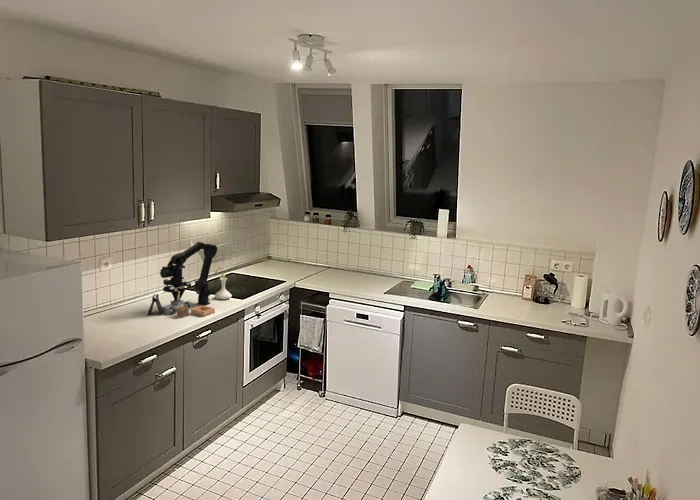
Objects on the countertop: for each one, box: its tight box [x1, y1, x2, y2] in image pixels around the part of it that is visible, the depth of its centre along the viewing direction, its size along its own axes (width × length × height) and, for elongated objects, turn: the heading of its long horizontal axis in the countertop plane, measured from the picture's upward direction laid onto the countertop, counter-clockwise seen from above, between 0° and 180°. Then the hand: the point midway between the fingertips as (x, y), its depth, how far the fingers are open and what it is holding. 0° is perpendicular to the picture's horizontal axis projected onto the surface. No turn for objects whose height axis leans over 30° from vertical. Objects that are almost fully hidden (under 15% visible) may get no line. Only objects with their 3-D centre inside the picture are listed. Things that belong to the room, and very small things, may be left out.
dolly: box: [162, 299, 193, 315], centre depth 338 cm, size 16×9×6 cm, turn 155°
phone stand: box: [146, 293, 165, 316], centre depth 329 cm, size 9×6×12 cm, turn 101°
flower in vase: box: [214, 262, 232, 300], centre depth 368 cm, size 13×11×25 cm
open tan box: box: [190, 305, 216, 318], centre depth 335 cm, size 10×10×3 cm
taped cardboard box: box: [176, 305, 190, 318], centre depth 328 cm, size 5×5×6 cm
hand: (177, 300), depth 339 cm, fingers closed on pin, 3 cm apart
